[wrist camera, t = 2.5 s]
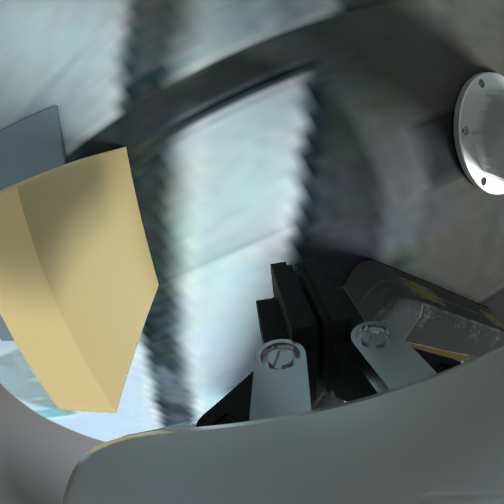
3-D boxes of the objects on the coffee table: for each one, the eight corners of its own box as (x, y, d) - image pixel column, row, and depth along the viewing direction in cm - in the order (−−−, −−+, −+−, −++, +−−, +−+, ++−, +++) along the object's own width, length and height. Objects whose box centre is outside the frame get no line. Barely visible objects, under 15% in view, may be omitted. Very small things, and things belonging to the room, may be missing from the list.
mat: (57, 105, 20) (54, 105, 19) (121, 334, 29) (120, 336, 28) (-59, 166, 19) (-62, 167, 19) (2, 338, 28) (1, 340, 28)
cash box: (268, 400, 34) (276, 454, 27) (357, 251, 27) (396, 296, 20) (413, 414, 39) (431, 450, 32) (494, 309, 32) (527, 342, 25)
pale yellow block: (125, 146, 22) (17, 187, 9) (158, 284, 27) (116, 412, 14) (79, 159, 22) (-43, 211, 9) (115, 289, 27) (55, 408, 14)
